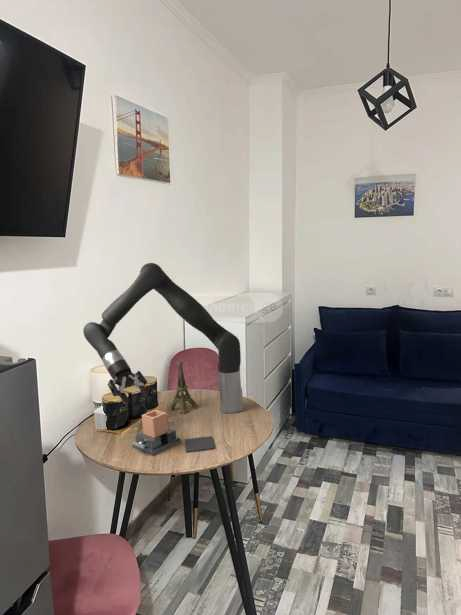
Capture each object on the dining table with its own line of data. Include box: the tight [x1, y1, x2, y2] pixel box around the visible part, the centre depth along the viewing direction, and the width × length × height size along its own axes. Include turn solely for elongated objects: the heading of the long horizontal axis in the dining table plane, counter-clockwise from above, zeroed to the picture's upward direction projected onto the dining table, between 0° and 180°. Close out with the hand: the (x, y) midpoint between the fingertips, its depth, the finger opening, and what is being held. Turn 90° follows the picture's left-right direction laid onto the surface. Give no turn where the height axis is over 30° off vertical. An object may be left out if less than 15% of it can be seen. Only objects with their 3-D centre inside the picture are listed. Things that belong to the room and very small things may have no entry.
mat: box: [184, 435, 216, 454], centre depth 161 cm, size 10×10×1 cm
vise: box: [131, 415, 181, 457], centre depth 162 cm, size 15×11×10 cm
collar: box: [141, 409, 169, 438], centre depth 162 cm, size 6×6×7 cm
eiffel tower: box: [166, 355, 201, 416], centre depth 197 cm, size 11×11×25 cm
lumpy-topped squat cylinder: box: [93, 404, 107, 430], centre depth 184 cm, size 10×13×9 cm
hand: (137, 399), depth 167 cm, fingers open, 8 cm apart
